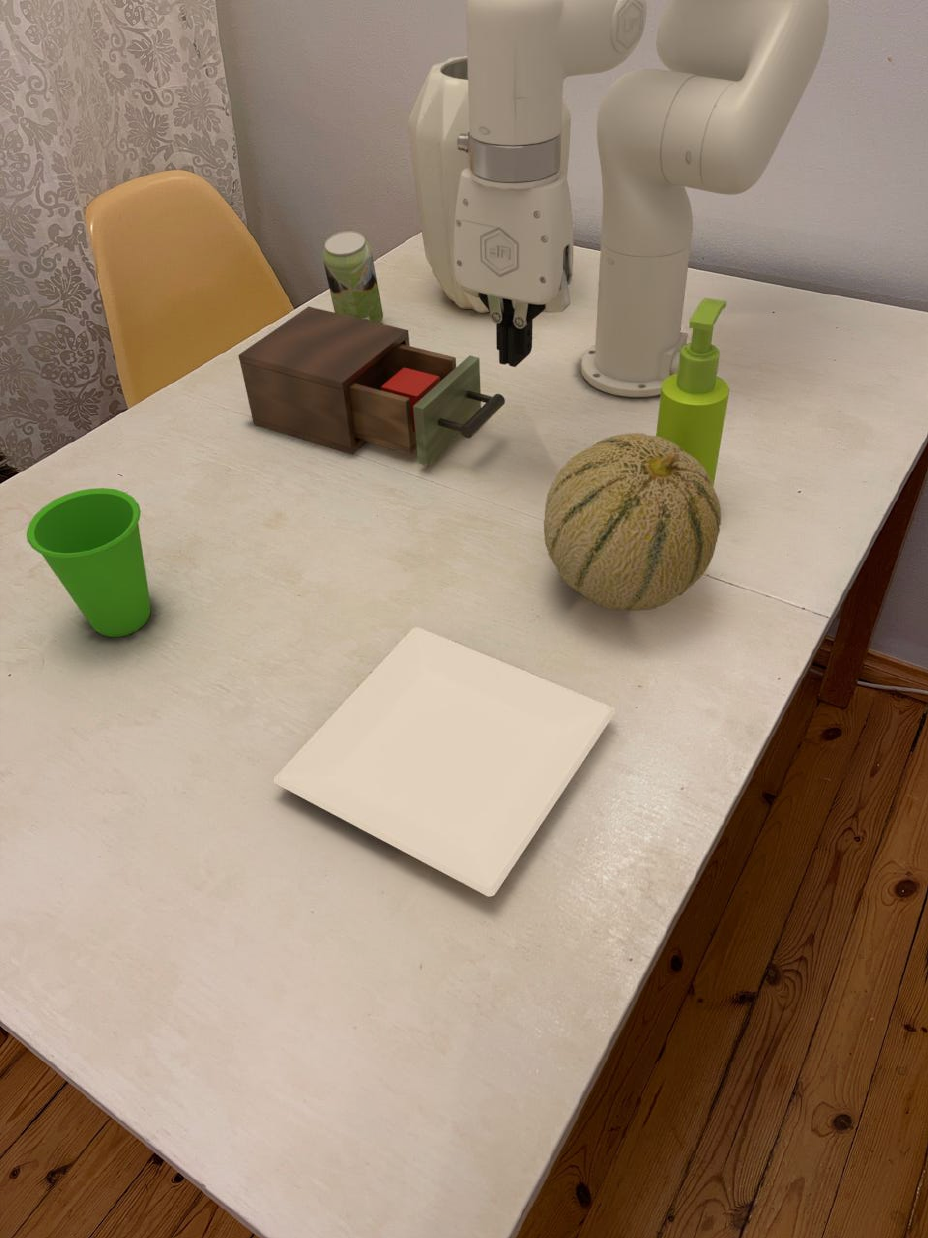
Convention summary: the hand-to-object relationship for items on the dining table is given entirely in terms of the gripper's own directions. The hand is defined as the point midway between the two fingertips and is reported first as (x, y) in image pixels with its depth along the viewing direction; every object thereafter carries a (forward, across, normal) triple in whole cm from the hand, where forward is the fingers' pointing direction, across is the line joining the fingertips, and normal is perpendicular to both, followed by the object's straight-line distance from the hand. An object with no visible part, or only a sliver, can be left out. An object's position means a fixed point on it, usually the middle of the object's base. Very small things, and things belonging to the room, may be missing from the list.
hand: (514, 358), depth 92 cm
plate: (+13, +14, -36) cm, 41 cm away
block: (+10, -13, +1) cm, 16 cm away
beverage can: (+12, -32, +19) cm, 39 cm away
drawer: (+11, -12, +1) cm, 16 cm away
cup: (+13, -20, -36) cm, 44 cm away
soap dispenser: (+12, +18, +2) cm, 22 cm away
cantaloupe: (+13, +18, -12) cm, 25 cm away
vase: (+12, -21, +35) cm, 42 cm away
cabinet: (+12, -23, +1) cm, 26 cm away
